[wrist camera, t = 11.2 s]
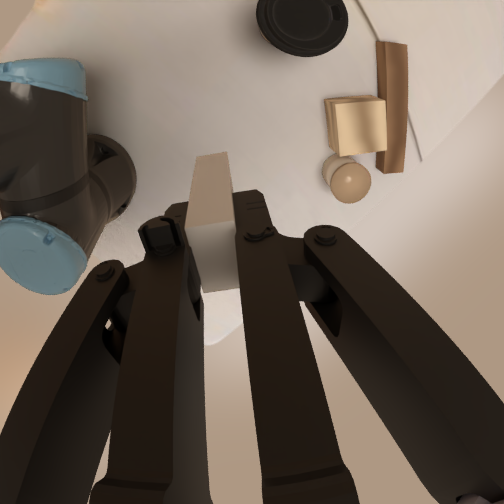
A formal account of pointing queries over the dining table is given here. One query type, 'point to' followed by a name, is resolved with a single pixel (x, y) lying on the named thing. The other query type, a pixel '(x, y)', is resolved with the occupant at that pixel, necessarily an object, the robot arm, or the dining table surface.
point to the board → (393, 103)
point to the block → (356, 124)
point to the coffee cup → (302, 25)
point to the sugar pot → (346, 178)
